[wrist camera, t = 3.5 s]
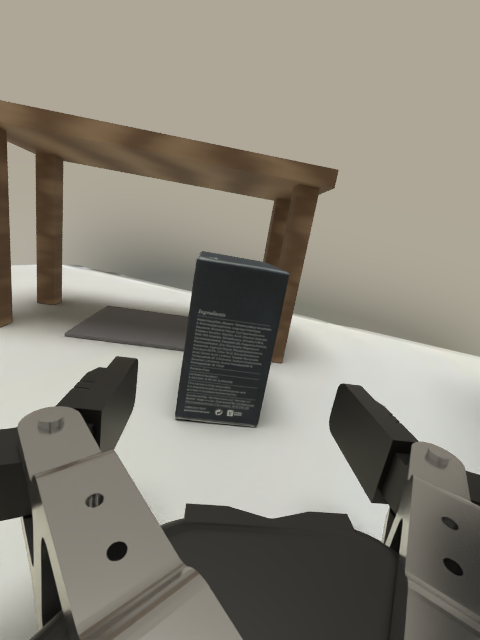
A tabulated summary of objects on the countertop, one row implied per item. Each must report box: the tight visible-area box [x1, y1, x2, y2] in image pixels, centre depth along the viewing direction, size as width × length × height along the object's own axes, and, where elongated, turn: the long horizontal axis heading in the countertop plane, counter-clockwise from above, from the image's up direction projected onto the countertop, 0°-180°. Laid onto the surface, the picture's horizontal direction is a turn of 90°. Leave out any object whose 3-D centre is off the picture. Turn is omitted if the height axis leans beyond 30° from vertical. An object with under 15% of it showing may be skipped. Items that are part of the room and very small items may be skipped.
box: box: [175, 251, 289, 427], centre depth 22 cm, size 8×6×11 cm
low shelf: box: [0, 100, 338, 363], centre depth 33 cm, size 32×14×19 cm, turn 94°
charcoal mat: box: [65, 306, 188, 351], centre depth 36 cm, size 14×12×1 cm
